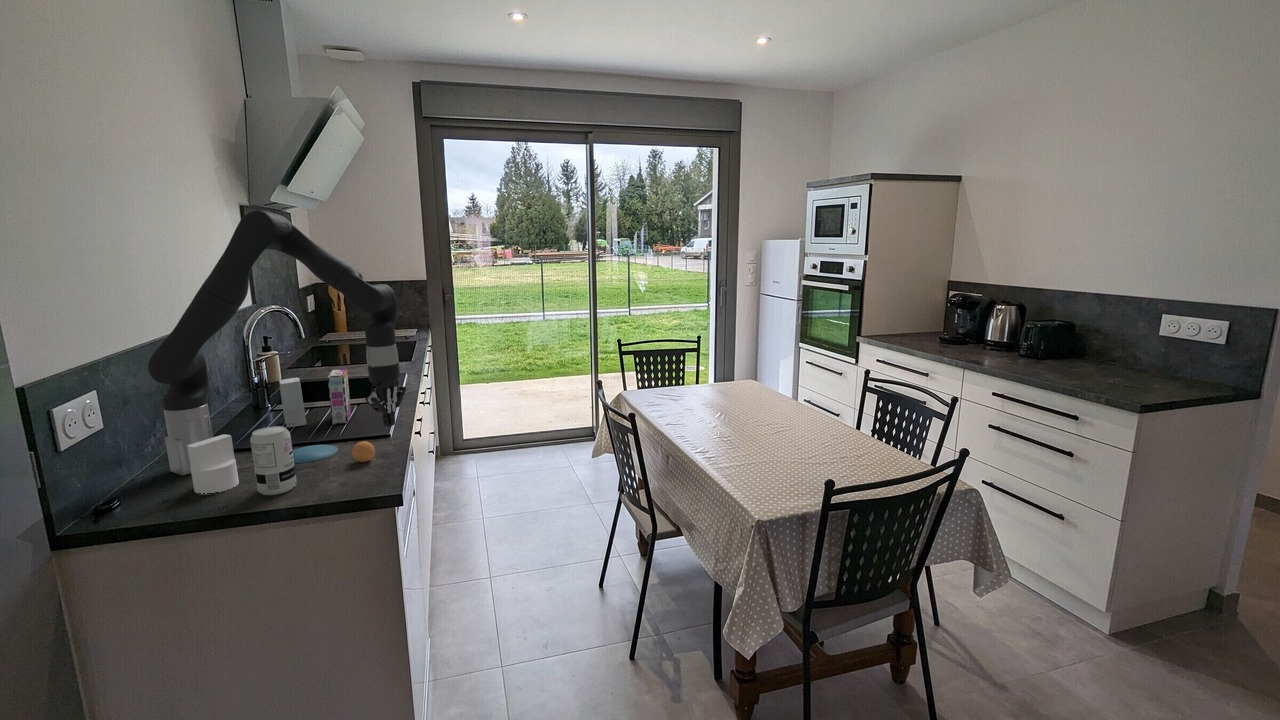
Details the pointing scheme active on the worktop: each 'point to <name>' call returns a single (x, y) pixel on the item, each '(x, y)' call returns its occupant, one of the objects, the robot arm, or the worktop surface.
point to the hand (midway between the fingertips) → (389, 425)
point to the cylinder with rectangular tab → (213, 465)
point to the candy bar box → (339, 396)
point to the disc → (313, 453)
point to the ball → (363, 451)
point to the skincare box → (292, 402)
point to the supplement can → (273, 460)
